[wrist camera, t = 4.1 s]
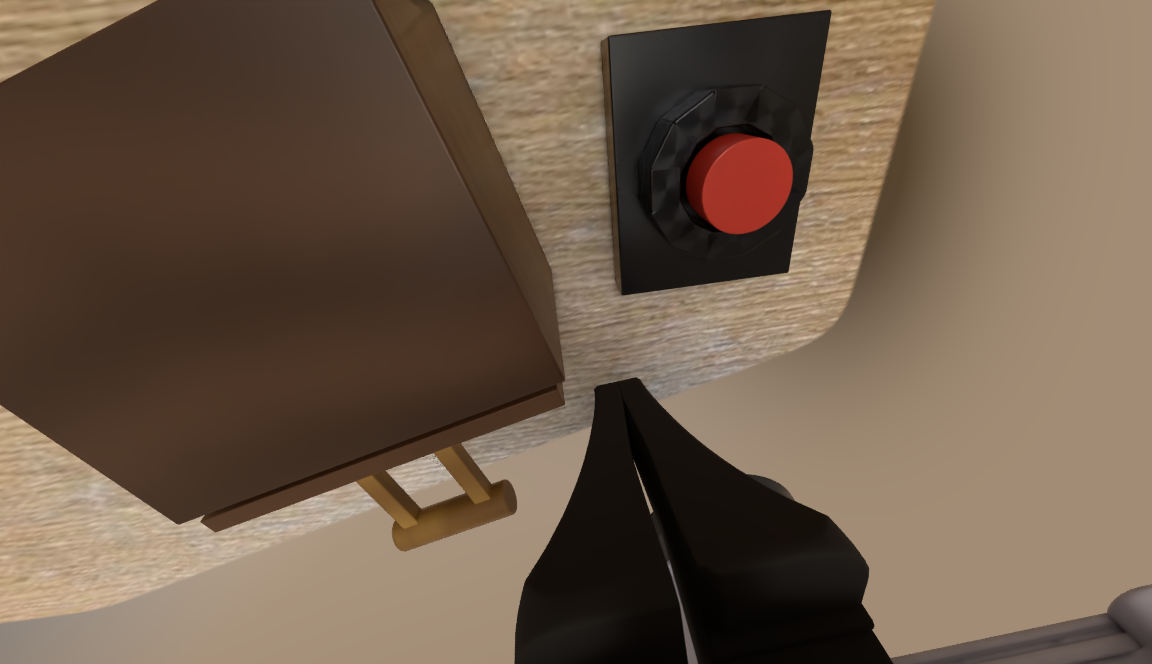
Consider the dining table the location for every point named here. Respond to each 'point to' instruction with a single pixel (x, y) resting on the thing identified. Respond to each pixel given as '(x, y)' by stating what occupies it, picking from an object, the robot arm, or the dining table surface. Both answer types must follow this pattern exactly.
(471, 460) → the door
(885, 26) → the dining table surface
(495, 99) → the dining table surface
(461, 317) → the compartment
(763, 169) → the button
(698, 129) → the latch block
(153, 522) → the dining table surface
